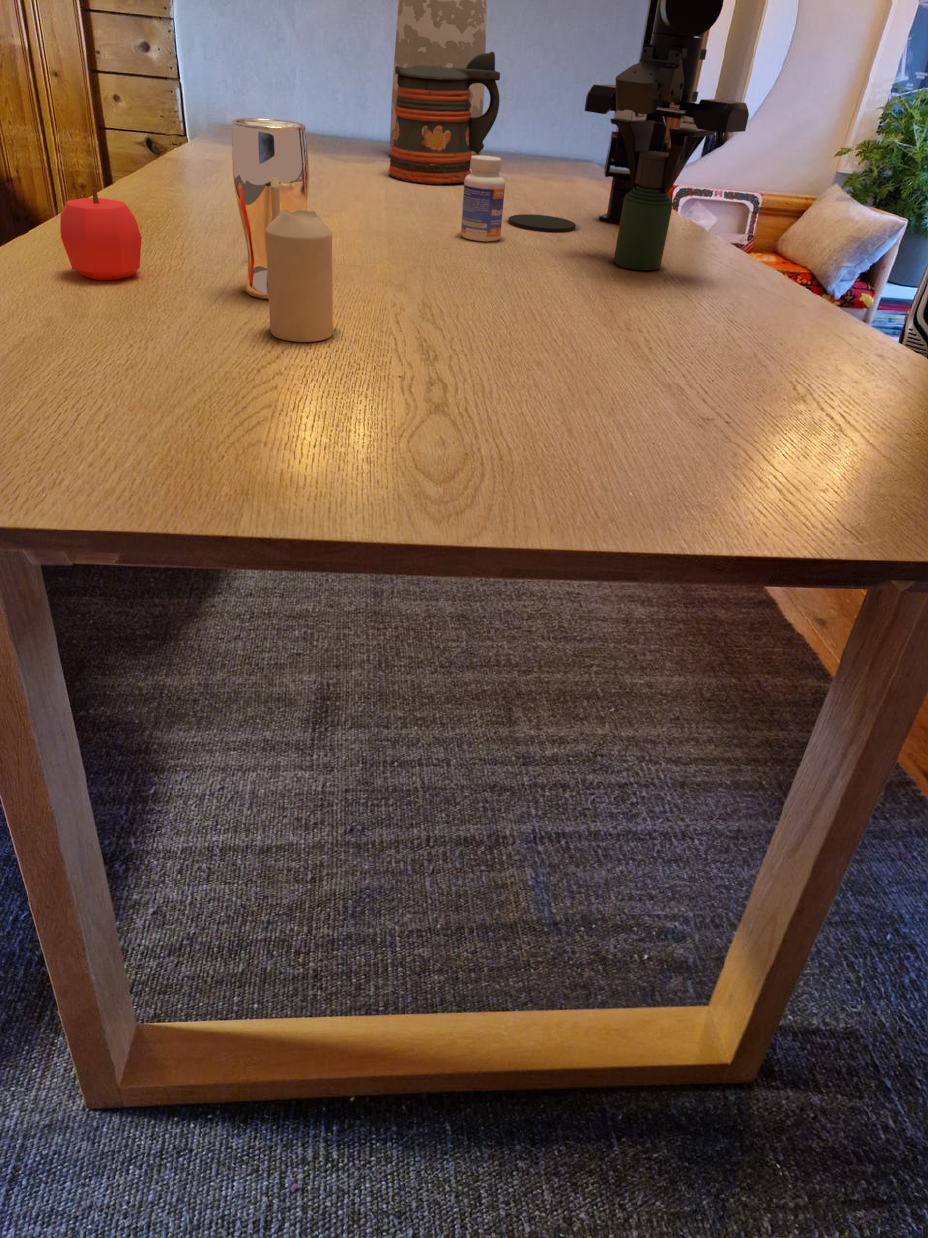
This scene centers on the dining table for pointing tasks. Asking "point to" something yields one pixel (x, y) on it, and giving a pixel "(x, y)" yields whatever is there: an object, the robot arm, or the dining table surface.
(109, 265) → the apple
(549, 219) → the coaster
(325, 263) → the candle
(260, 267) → the beer glass
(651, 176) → the cap
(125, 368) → the dining table surface
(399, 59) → the vase
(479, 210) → the pill bottle
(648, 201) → the bottle
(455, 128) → the beer stein
